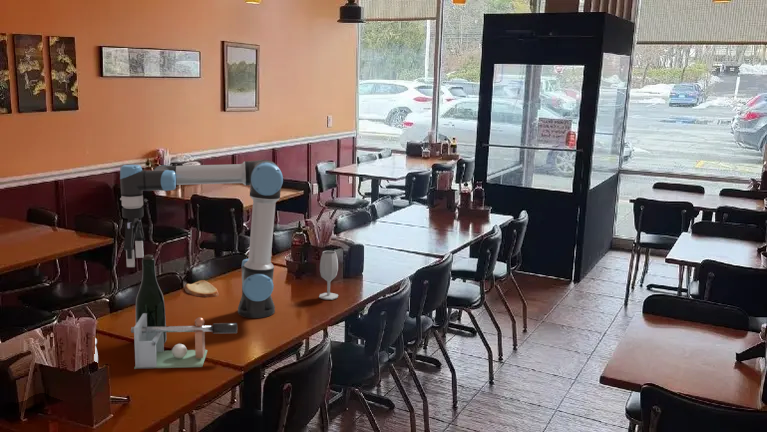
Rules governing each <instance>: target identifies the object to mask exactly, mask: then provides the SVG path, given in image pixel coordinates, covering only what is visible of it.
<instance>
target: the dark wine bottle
mask: <svg viewBox="0 0 767 432" xmlns="http://www.w3.org/2000/svg"><path fill="white" fill-rule="evenodd" d="M141 265H142V277H141V283H140V286H139V290H138V293H137V295H136V298H135V324H136V323H137V322H138V320H139V319H140V317H141V316H142V314H143V313H147V327H158V326H167V324H166V323H167V321H166V305H165V299H164V294H163V292H162V290H161V288H160V286H159V283H158V280H157V275H156V266H155V265H156V260H155V258H154V255H153V254H144V256H143V258H142V259H141ZM163 337H164V344H166V342H167V332H163Z"/></svg>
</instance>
